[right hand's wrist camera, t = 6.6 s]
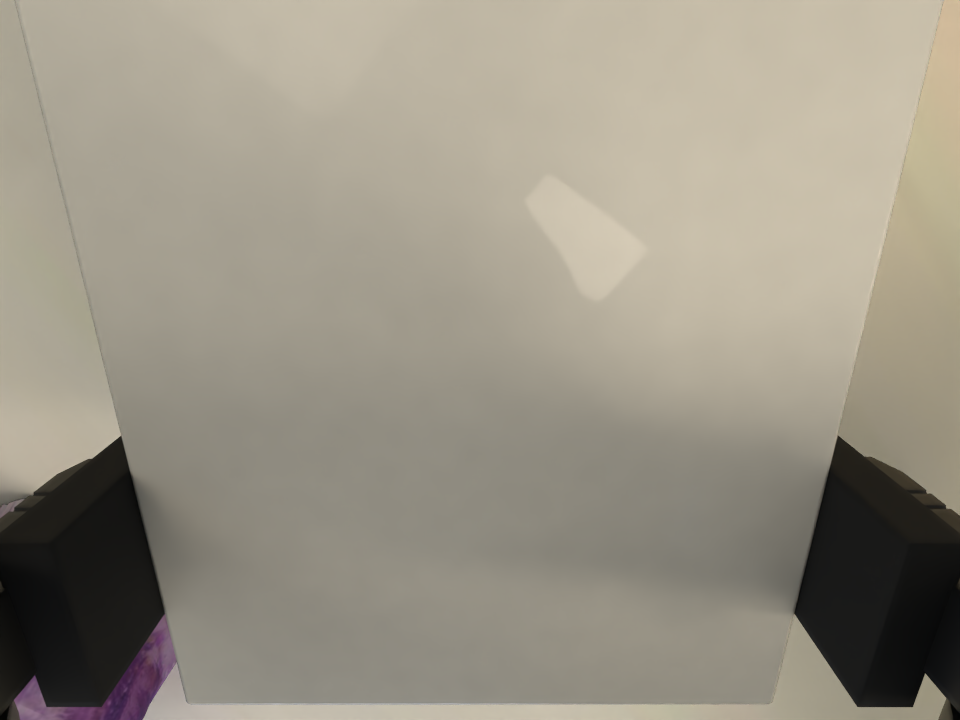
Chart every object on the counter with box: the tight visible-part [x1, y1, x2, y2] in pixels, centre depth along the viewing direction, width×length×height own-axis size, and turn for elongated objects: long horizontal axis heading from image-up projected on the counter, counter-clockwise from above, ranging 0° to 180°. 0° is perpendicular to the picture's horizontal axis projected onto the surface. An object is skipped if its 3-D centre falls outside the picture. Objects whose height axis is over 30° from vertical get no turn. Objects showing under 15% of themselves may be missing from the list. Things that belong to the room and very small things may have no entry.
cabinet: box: [15, 0, 944, 705], centre depth 11 cm, size 21×10×10 cm, turn 0°
